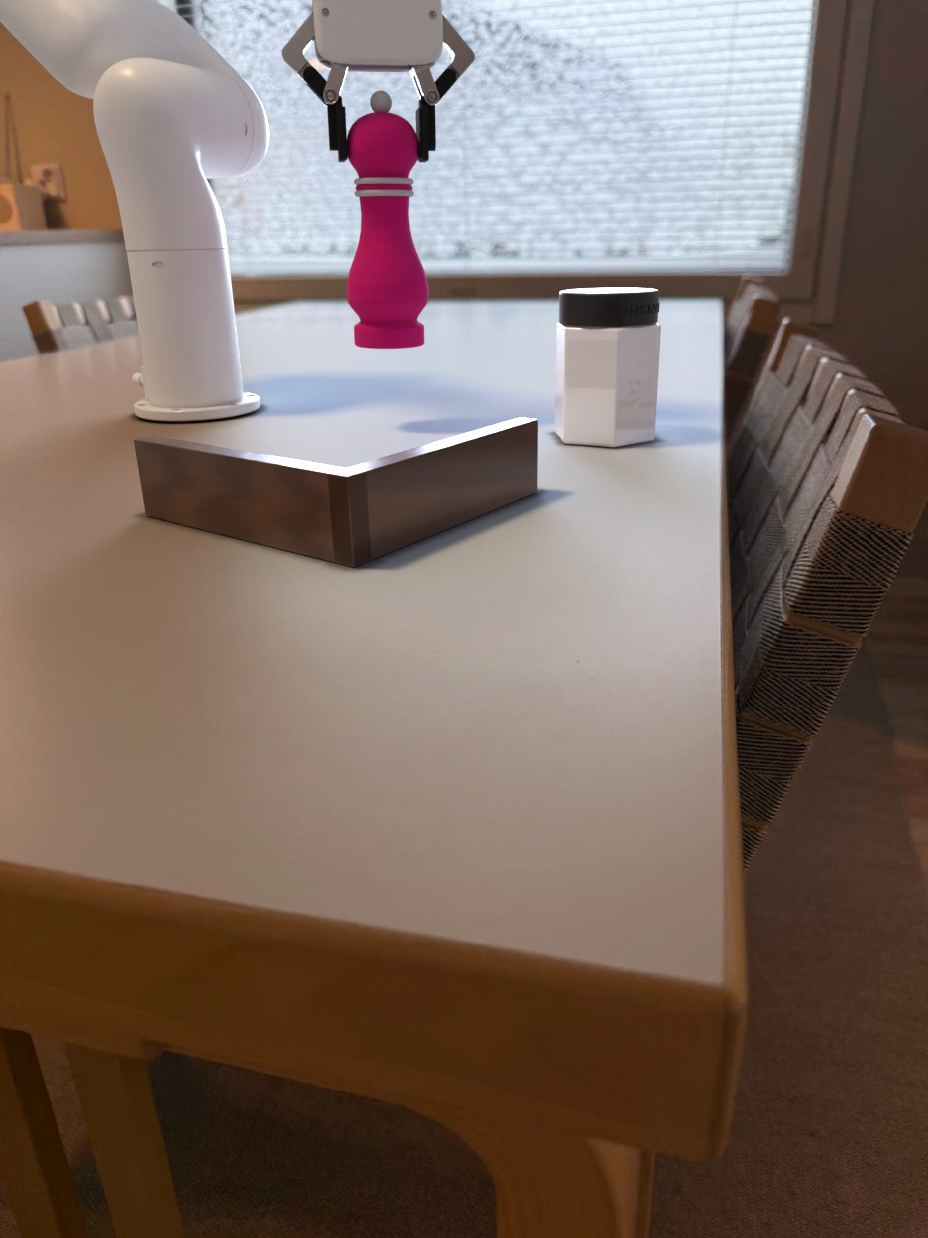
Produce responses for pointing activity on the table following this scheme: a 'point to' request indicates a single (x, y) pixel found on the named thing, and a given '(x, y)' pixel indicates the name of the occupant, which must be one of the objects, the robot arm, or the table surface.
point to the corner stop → (339, 491)
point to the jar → (607, 366)
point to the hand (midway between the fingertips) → (382, 158)
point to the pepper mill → (385, 232)
